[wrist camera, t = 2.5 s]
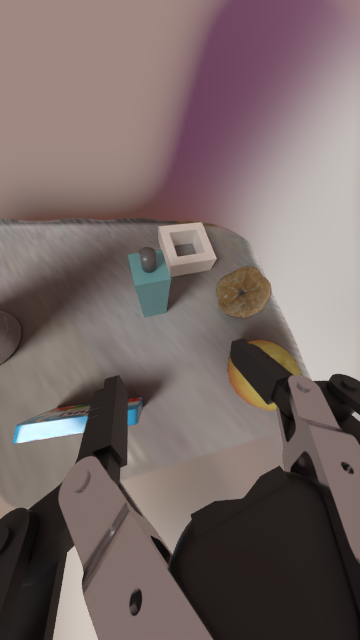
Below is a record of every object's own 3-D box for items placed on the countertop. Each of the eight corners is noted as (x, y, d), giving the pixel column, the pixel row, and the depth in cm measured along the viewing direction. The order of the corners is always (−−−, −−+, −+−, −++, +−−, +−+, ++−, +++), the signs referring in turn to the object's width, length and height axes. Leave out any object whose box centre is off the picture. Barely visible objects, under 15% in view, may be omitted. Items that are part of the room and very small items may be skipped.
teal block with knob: (144, 317, 26) (131, 274, 13) (139, 297, 26) (123, 239, 14) (166, 312, 26) (172, 267, 14) (160, 293, 27) (162, 235, 15)
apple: (263, 340, 27) (303, 332, 20) (279, 396, 25) (332, 410, 17) (215, 347, 26) (238, 340, 18) (227, 407, 23) (260, 428, 16)
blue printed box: (143, 396, 22) (137, 408, 16) (143, 407, 22) (137, 424, 16) (55, 407, 20) (12, 426, 14) (53, 420, 20) (9, 444, 14)
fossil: (254, 256, 26) (282, 301, 21) (258, 270, 29) (283, 311, 24) (209, 282, 30) (225, 325, 25) (217, 291, 33) (232, 331, 28)
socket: (169, 277, 29) (170, 266, 25) (158, 241, 31) (158, 226, 27) (210, 270, 30) (216, 258, 27) (197, 236, 33) (201, 222, 29)
